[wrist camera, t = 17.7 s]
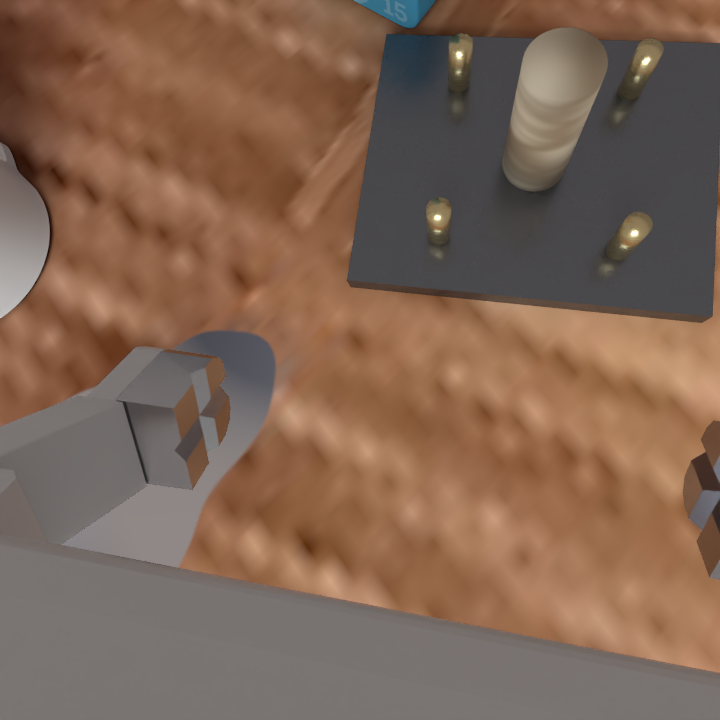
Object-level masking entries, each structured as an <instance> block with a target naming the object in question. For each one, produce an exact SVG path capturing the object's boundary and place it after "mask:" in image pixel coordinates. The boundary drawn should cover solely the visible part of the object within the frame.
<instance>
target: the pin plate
mask: <svg viewBox="0 0 720 720" xmlns="http://www.w3.org/2000/svg"><path fill="white" fill-rule="evenodd" d="M534 39H535V38H507V37H471V36H469V35H467V34H464V33H459V34H456V35H454V36H435V35H398V34H387V35H386V41H385V47H384V53H383V60H382V66H381V72H380V78H379V85H378V91H377V97H376V103H375V110H374V116H373V122H372V128H371V135H370V141H369V147H368V153H367V159H366V166H365V172H364V178H363V184H362V191H361V197H360V203H359V209H358V216H357V222H356V228H355V234H354V241H353V247H352V253H351V259H350V265H349V272H348V278H347V281H348V283H349V285H350V287H355V288H365V289H375V290H385V291H395V292H405V293H414V294H424V295H434V296H444V297H454V298H463V299H473V300H483V301H493V302H503V303H513V304H522V305H532V306H542V307H552V308H562V309H572V310H581V311H591V312H601V313H611V314H621V315H630V316H640V317H650V318H660V319H670V320H680V321H689V322H699V323H702V322H704V321H706V320H708V319H709V318H711V317H712V315H713V291H714V267H715V242H716V218H717V194H718V170H719V146H720V43H689V42H660V41H659V40H657V39H653V38H648V39H645V40H643V41H616V40H599V41H600V42H601V43H602V45H603V46H604V48H605V50H606V53H607V58H608V67H607V71H606V74H605V77H604V79H603V82H602V84H601V86H600V89H599V91H598V93H597V96H596V98H595V101H594V103H593V105H592V108H591V110H590V113H589V115H588V117H587V120H586V122H585V124H584V127H583V129H582V132H581V134H580V136H579V139H578V141H577V144H576V146H575V148H574V151H573V153H572V155H571V158H570V160H569V163H568V165H567V167H566V170H565V172H564V174H563V176H562V178H561V179H560V180H559V181H558V182H557V183H556V184H555V185H553V186H552V187H550V188H548V189H545V190H542V191H535V192H533V191H525V190H522V189H519V188H517V187H515V186H514V185H513V184H511V183H510V182H509V181H508V179H507V178H506V176H505V174H504V172H503V168H502V159H503V154H504V149H505V144H506V139H507V134H508V129H509V125H510V120H511V115H512V110H513V105H514V100H515V95H516V90H517V85H518V80H519V75H520V70H521V65H522V60H523V56H524V53H525V51H526V49H527V48H528V46H529V45H530V43H531V42H532V41H533V40H534Z"/></svg>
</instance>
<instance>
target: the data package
mask: <svg viewBox="0 0 720 720" xmlns="http://www.w3.org/2000/svg"><path fill="white" fill-rule="evenodd" d="M353 1H355V2H357V3H359V4H361V5H363V6H365V7H367V8H368V9H370V10H372V11H374V12H376V13H378V14H380V15H382V16H383V17H385V18H387V19H389V20H391V21H393V22H395V23H397V24H399V25H400V26H402V27H405V28H414V27H416V26H417V25H418V23H419V22H420V21H421V20H422V18H423V17H424V16H425V14H426V13H427V12H428V10H429V9H430V8H431V7H432V5H433V4H434V3H435V1H436V0H353Z"/></svg>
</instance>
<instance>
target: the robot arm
mask: <svg viewBox="0 0 720 720" xmlns="http://www.w3.org/2000/svg"><path fill="white" fill-rule="evenodd" d="M49 238H50V226H49V218H48V213H47V210H46V207H45V204H44V202H43V200H42V198H41V196H40V195H39V193H38V192H37V190H36V189H35V188H34V187H33V186H32V184H30V183H29V182H28V181H27V180H26V179H25V178H24V177H23V176H22V175H21V174H20V173H19V171H18V170H17V167H16V164H15V161H14V158H13V155H12V153H11V151H10V149H9V148H8V147H7V146H6V145H5V144H3V143H1V142H0V318H1V317H3V316H4V315H6V314H7V313H8V312H10V311H11V310H12V309H13V308H14V307H16V306H17V305H18V304H19V303H20V302H21V301H22V299H23V298H24V297H25V296H26V295H27V293H28V292H29V291H30V289H31V288H32V286H33V285H34V283H35V282H36V280H37V278H38V276H39V274H40V272H41V270H42V268H43V265H44V262H45V259H46V256H47V252H48V247H49ZM225 377H226V376H225V371H224V366H223V361H222V360H221V359H219V358H218V357H216V356H210V355H203V354H196V353H189V352H183V351H176V350H170V349H167V350H166V349H162V348H154V347H147V346H141V347H136V348H134V349H133V350H132V351H131V352H130V353H129V354H128V355H127V356H126V357H125V358H124V359H123V360H122V361H121V362H120V363H119V364H118V365H117V366H116V368H115V369H114V370H113V371H112V372H111V373H110V374H109V375H108V376H107V377H106V378H105V379H104V380H103V381H102V382H101V383H100V384H99V385H98V386H97V387H96V388H95V389H94V390H93V391H92V392H91V393H90V394H89V395H88V396H87V397H84V396H76V397H74V398H71V399H69V400H66V401H64V402H61V403H59V404H56V405H54V406H51V407H49V408H46V409H44V410H41V411H39V412H36V413H33V414H31V415H28V416H26V417H23V418H21V419H18V420H16V421H13V422H11V423H8V424H6V425H3V426H1V427H0V720H720V673H717V672H712V671H707V670H701V669H696V668H691V667H686V666H681V665H676V664H671V663H665V662H660V661H655V660H650V659H645V658H640V657H635V656H629V655H624V654H619V653H614V652H609V651H604V650H599V649H593V648H588V647H583V646H578V645H573V644H568V643H563V642H558V641H552V640H547V639H542V638H537V637H532V636H527V635H522V634H516V633H511V632H506V631H501V630H496V629H491V628H486V627H480V626H475V625H470V624H465V623H460V622H455V621H450V620H444V619H439V618H434V617H429V616H424V615H419V614H414V613H408V612H403V611H398V610H393V609H388V608H383V607H378V606H372V605H367V604H362V603H357V602H352V601H347V600H342V599H336V598H331V597H326V596H321V595H316V594H311V593H306V592H300V591H295V590H290V589H285V588H280V587H275V586H270V585H264V584H259V583H254V582H249V581H244V580H239V579H234V578H228V577H223V576H218V575H213V574H208V573H203V572H198V571H192V570H187V569H182V568H177V567H172V566H166V565H162V564H156V563H151V562H146V561H141V560H136V559H130V558H126V557H120V556H115V555H110V554H104V553H100V552H94V551H89V550H84V549H78V548H74V547H69V546H63V545H61V544H63V543H64V542H66V541H67V540H68V539H70V538H71V537H73V536H74V535H76V534H77V533H79V532H80V531H82V530H83V529H85V528H86V527H88V526H89V525H91V524H92V523H93V522H95V521H96V520H98V519H99V518H100V517H102V516H103V515H105V514H106V513H108V512H110V511H111V510H112V509H114V508H115V507H117V506H118V505H120V504H121V503H123V502H124V501H126V500H127V499H129V498H130V497H132V496H133V495H135V494H136V493H138V492H139V491H140V490H142V489H143V488H145V487H146V486H147V484H154V485H161V486H168V487H175V488H182V489H189V490H193V488H194V487H195V485H196V483H197V481H198V480H199V478H200V477H201V475H202V473H203V472H204V470H205V468H206V467H207V465H208V464H209V461H208V456H207V452H209V451H211V450H212V449H214V448H216V447H218V446H219V445H220V443H221V442H222V440H223V438H224V436H225V435H226V431H227V428H228V424H229V420H230V402H229V396H228V395H227V394H226V393H225V391H224V390H223V389H222V388H221V387H220V384H221V383H222V381H223V380H224V378H225ZM701 441H702V443H703V446H704V448H705V451H706V452H705V453H703V454H701V455H700V456H698V457H696V458H695V459H693V460H691V462H690V465H689V467H688V469H687V472H686V474H685V478H684V487H683V498H684V506H685V509H686V512H687V515H688V518H689V519H690V520H691V521H692V522H693V523H695V524H696V525H697V526H698V527H699V528H700V529H701V530H702V532H701V533H700V535H699V537H698V539H697V544H698V547H699V549H700V552H701V555H702V558H703V561H704V564H705V566H706V569H707V572H708V575H709V578H714V579H719V580H720V421H715V420H714V421H713V422H712V423H711V424H710V425H709V426H708V427H707V428H706V430H705V432H704V434H703V436H702V438H701Z"/></svg>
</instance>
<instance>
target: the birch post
mask: <svg viewBox="0 0 720 720" xmlns="http://www.w3.org/2000/svg"><path fill="white" fill-rule="evenodd" d="M607 67H608V58H607V53H606V50H605V48H604V46H603V45H602V43H601V42H600V41H599V40H598V39H597V38H596V37H595V36H593V35H592V34H590V33H588V32H586V31H584V30H581V29H577V28H570V27H563V28H556V29H552V30H549V31H547V32H545V33H543V34H541V35H540V36H538V37H537V38H535V39H534V40H533V41H532V42H531V43H530V45H529V46H528V48H527V49H526V51H525V53H524V56H523V60H522V65H521V70H520V75H519V80H518V85H517V90H516V95H515V100H514V105H513V110H512V115H511V120H510V125H509V129H508V134H507V139H506V144H505V149H504V154H503V159H502V168H503V172H504V174H505V176H506V178H507V179H508V181H509V182H510V183H511V184H513V185H514V186H515V187H517V188H519V189H522V190H525V191H533V192H535V191H542V190H545V189H548V188H550V187H552V186H553V185H555V184H556V183H557V182H558V181H559V180H560V179H561V178H562V176H563V174H564V172H565V170H566V167H567V165H568V163H569V160H570V158H571V155H572V153H573V151H574V148H575V146H576V144H577V141H578V139H579V136H580V134H581V132H582V129H583V127H584V124H585V122H586V120H587V117H588V115H589V113H590V110H591V108H592V105H593V103H594V101H595V98H596V96H597V93H598V91H599V89H600V86H601V84H602V82H603V79H604V77H605V74H606V71H607Z"/></svg>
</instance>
